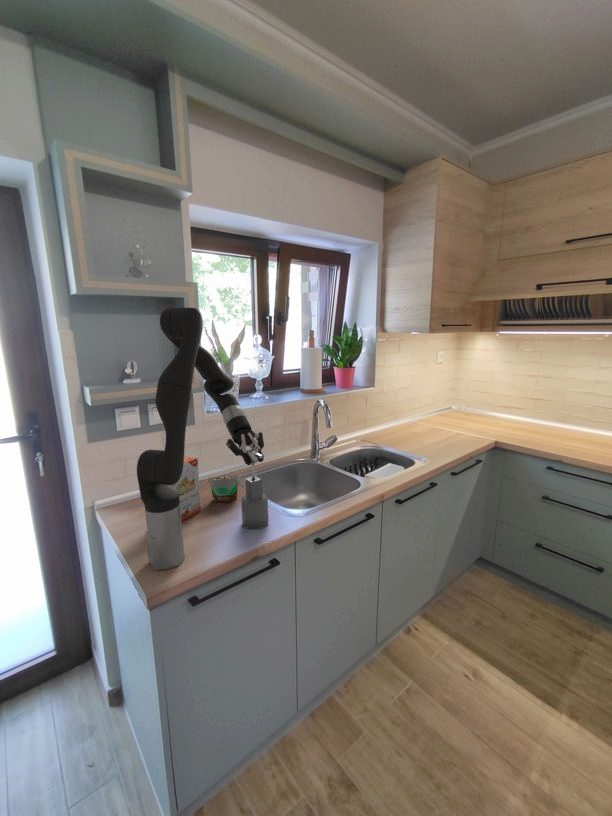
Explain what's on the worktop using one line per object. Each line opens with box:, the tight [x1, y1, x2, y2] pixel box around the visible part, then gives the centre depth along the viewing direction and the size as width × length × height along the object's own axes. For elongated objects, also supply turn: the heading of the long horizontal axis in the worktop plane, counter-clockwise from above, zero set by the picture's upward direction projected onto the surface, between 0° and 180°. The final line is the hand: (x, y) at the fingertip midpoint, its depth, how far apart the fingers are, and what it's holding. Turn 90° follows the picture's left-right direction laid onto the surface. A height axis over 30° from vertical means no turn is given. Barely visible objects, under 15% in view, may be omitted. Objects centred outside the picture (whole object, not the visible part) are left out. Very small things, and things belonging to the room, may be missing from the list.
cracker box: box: [167, 455, 201, 522], centre depth 129 cm, size 14×6×21 cm, turn 151°
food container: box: [207, 474, 241, 505], centre depth 142 cm, size 12×6×10 cm, turn 106°
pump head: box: [246, 448, 262, 480], centre depth 122 cm, size 4×7×12 cm, turn 40°
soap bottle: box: [240, 475, 269, 530], centre depth 125 cm, size 9×9×16 cm
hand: (255, 462), depth 121 cm, fingers closed on pump head, 4 cm apart
